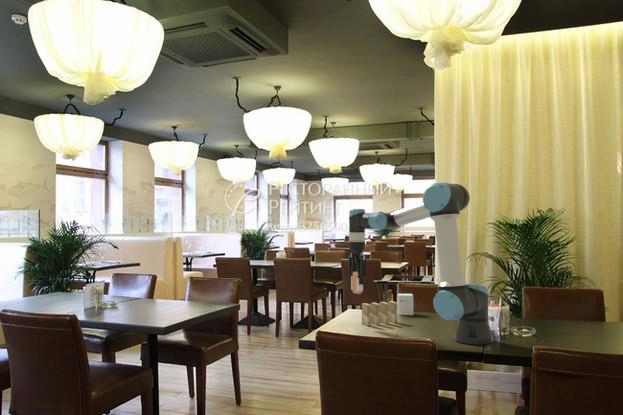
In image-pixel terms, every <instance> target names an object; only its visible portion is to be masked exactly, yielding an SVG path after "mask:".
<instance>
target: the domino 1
mask: <svg viewBox="0 0 623 415" xmlns="http://www.w3.org/2000/svg"><path fill="white" fill-rule="evenodd" d="M357 276H358V271H357V270H356V271H354V272H353V290H352V293H353V294H357V295H362V293H363V291H360V292H357Z"/></svg>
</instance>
